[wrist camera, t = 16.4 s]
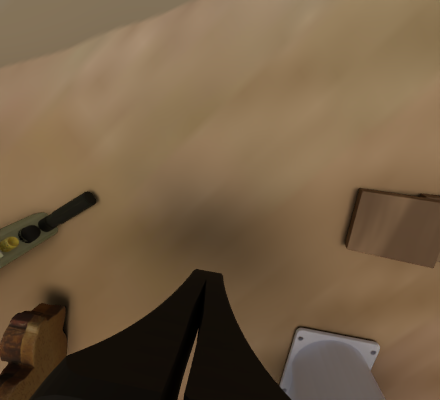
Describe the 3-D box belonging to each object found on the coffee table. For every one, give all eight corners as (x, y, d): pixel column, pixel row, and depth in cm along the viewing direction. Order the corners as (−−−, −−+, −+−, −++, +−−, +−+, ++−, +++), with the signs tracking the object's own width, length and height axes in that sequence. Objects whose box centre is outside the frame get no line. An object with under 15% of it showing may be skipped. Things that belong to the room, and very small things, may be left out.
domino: (359, 188, 20) (449, 201, 18) (345, 243, 21) (426, 260, 20) (362, 191, 19) (458, 205, 17) (346, 249, 20) (433, 268, 18)
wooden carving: (35, 280, 25) (-89, 370, 16) (77, 288, 25) (-23, 386, 16) (42, 392, 30) (-50, 514, 21) (78, 400, 30) (1, 527, 20)
